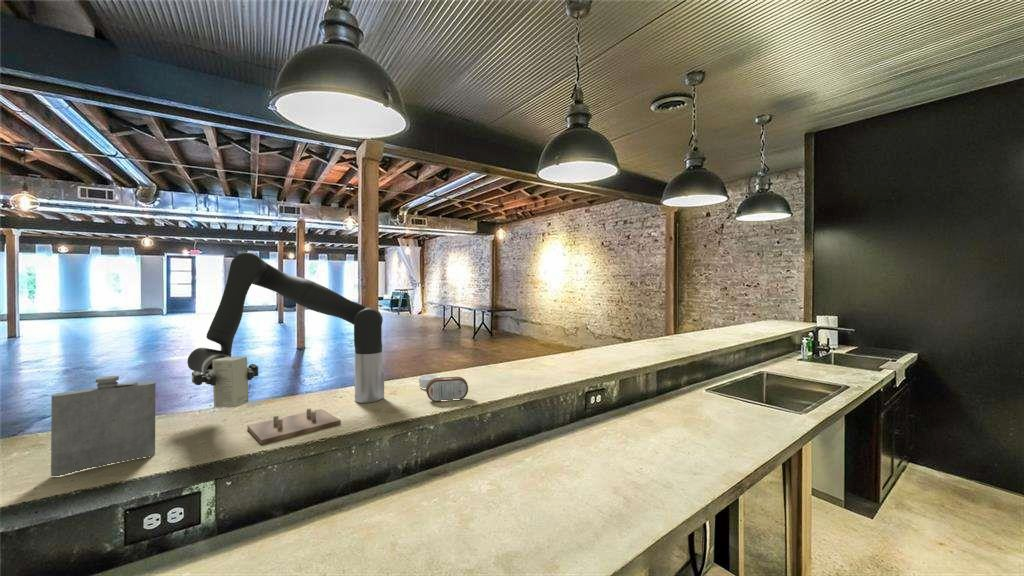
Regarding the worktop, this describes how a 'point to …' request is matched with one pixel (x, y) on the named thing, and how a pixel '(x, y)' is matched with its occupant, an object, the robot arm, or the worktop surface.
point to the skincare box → (230, 382)
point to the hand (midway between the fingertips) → (232, 378)
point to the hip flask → (102, 425)
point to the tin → (447, 388)
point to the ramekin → (426, 380)
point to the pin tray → (292, 425)
